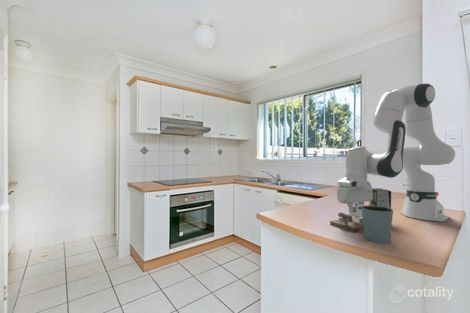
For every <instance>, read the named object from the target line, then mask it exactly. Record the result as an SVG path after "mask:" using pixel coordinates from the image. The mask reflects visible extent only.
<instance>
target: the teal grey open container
mask: <svg viewBox="0 0 470 313" xmlns="http://www.w3.org/2000/svg"><path fill="white" fill-rule="evenodd" d="M393 215H394V209H392V208H391V209H390V208H387V207H382V206H371V205H369V204H368V205H364V206H362V216H363V225H364V230H363V237H364V238H365V239H366V240H367V239H368V241H370V242H374V243H378V244H389V243H390V242H391V239H392V227H393V226H392V223H393Z"/></svg>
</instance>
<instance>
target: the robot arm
mask: <svg viewBox="0 0 470 313" xmlns="http://www.w3.org/2000/svg"><path fill="white" fill-rule="evenodd" d="M435 97H436V90H435V88H434V86H433V85H432V84H431V83H419V84H413V85H408V86H403V87H400V88H396V89H392V90H389V91H386V92H384V93H383V95H382V96H381V98H380V101H379V103H378V104H377V107H376V110H375V112H374V116H373V122H372V124H373V125H374V127H375V128H376V129H377V130H379V131H380V132H382V133H386V134H388V141H387V148H386V152H384V153H383V154H377V153H376V154H374V153H372V152H370V151H369V150H368V149H367V148H366V147H365V146H357V147H350V148H349V149H348V150H347V152H346V155H345V168H346V169H345V171H346V172H345V177H343V178H341V179H339V180H338V181H337V186H338V187H337V195H336V196H337V197H336V198H337V201H338V203H340V204H344V205H345V204H346V205H347V207H348V213H349V212H355V211H354V210H355V209H354V208H353V206H352V205H353V203H355V202H357V203H362V204H363V206H365V202H369V201H372V200H373V189H372V188H373V187H372V184H371V182H370V181H369V180H368V175H372V176H381V177H385V178H391V179H392V178H396V177H397V176H398V175H400V174H401V172H402V171H403V170H404V172H405V175H406V180H407V181H406V182H407V189H406V192H405V193H406V197H405V198H404V199H403V206H402V210H400V214H403V216H405V217H409V218H412V219H415V220H422V221H423V220H424V221H433V222H442V223H443V222H445V221H447V220H449V218H450V215H448V214H444V206H443V205H442V203H441V202H440V201H439V200H438V196H439V195H440V194H439V192H438V191H436V190H435V188H436V187H435V186H436V185H435V184H436V181H435V180H436V178H435V177H434V175H433V174H432V173H430V172H428V171H425V170H424V169H422V167H421V166H443V165H450V164H451V163H452V162H453V161H454V160H455V157H456V151H455V149H454V148H453V147H452V146H451V145H449V144H448V143H446V142H444V141H442V140H441V139H440V138H439V137H438V135H437V134H436V133H435V130H434V129H435V128H434V123H433V113H432V107H431V104H432V103H433V101H434V100H435V99H436V98H435ZM403 116H404V117H403ZM403 118H404V122H403ZM406 136H408V138H411V139H414V140H416V141H418V143H420V144H405V142H406V141H405V139H406Z"/></svg>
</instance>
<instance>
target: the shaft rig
mask: <svg viewBox="0 0 470 313" xmlns="http://www.w3.org/2000/svg"><path fill="white" fill-rule="evenodd" d="M337 216H338V219H334V220H330V222H329V223H330V224H329V225H332V226H334V227H338V228H340V229H343V230H345V231H349V232H352V233H358V232H362V231H363V232H364V225H363V217H359V218H356V217H352V216H349V213H348V214H347V213H343V212H341V211H339V212H338V215H337Z"/></svg>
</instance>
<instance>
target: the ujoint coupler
mask: <svg viewBox="0 0 470 313" xmlns="http://www.w3.org/2000/svg"><path fill="white" fill-rule="evenodd" d="M352 206H353V208H354V209H355V210H354V211H355V212H349V211H348V214H349V216H352V217H356V218H359V217H360V218H362V217H363V216H362V206H363V204H362V203H358V202H355V203H353V205H352Z"/></svg>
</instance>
